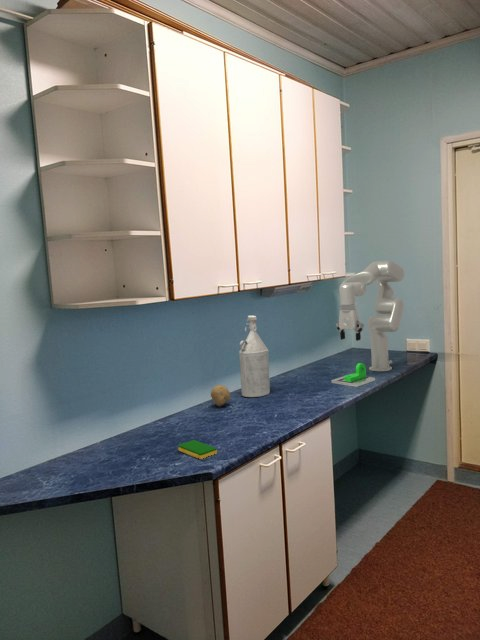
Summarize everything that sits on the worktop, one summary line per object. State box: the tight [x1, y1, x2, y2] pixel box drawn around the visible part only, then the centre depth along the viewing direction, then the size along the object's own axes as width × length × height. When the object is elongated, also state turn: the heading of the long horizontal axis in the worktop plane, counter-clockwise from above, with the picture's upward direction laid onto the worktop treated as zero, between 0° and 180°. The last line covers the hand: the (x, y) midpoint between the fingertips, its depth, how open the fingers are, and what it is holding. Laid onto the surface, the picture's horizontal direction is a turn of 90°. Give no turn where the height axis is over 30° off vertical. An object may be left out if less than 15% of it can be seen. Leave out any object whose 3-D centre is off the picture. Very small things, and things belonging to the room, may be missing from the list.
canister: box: [238, 315, 271, 398], centre depth 253 cm, size 13×17×40 cm
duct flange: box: [331, 375, 376, 388], centre depth 267 cm, size 16×16×2 cm
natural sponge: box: [210, 384, 231, 407], centre depth 237 cm, size 9×9×10 cm
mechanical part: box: [343, 362, 367, 382], centre depth 267 cm, size 12×6×8 cm, turn 127°
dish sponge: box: [178, 439, 218, 460], centre depth 179 cm, size 7×14×2 cm, turn 41°
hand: (350, 339), depth 268 cm, fingers open, 9 cm apart
